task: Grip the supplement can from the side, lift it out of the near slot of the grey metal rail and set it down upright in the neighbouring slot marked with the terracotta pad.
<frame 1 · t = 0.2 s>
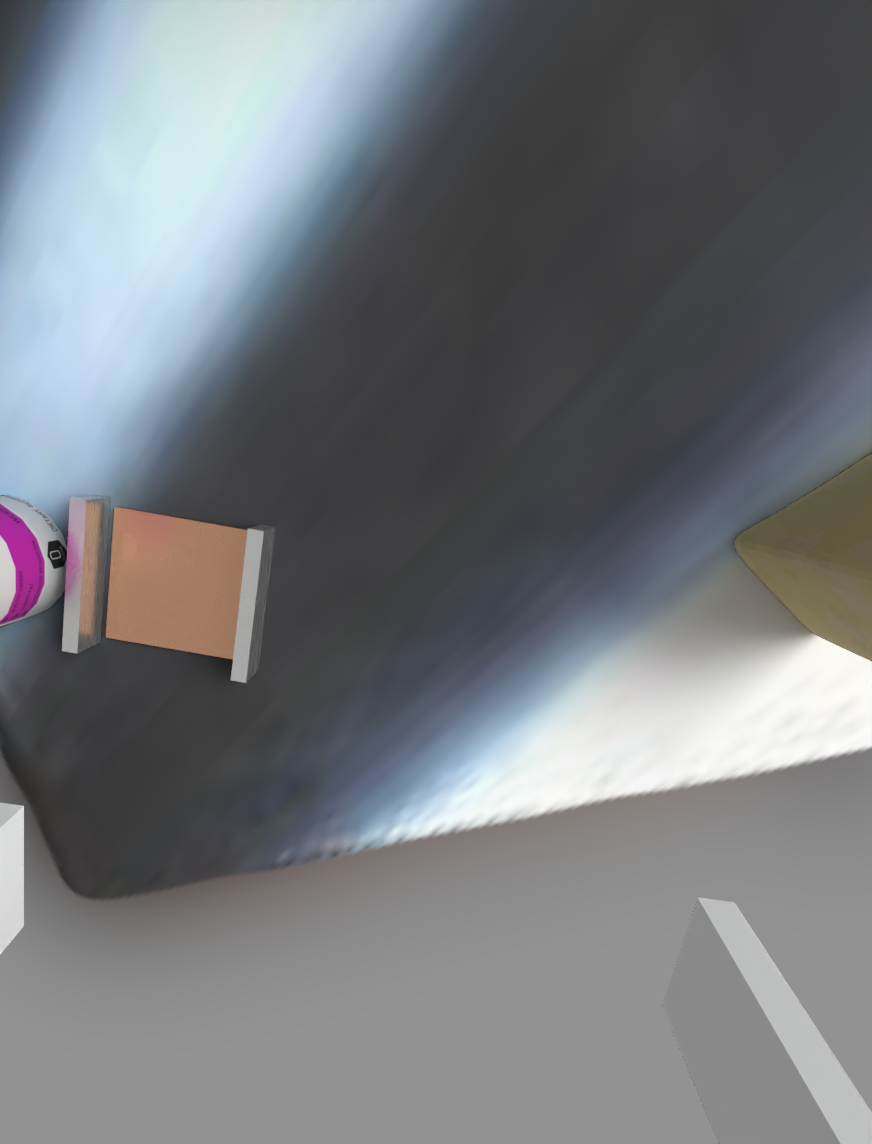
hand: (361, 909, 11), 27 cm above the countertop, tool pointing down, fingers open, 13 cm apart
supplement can: (19, 555, 38), on the countertop
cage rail: (97, 570, 38), on the countertop
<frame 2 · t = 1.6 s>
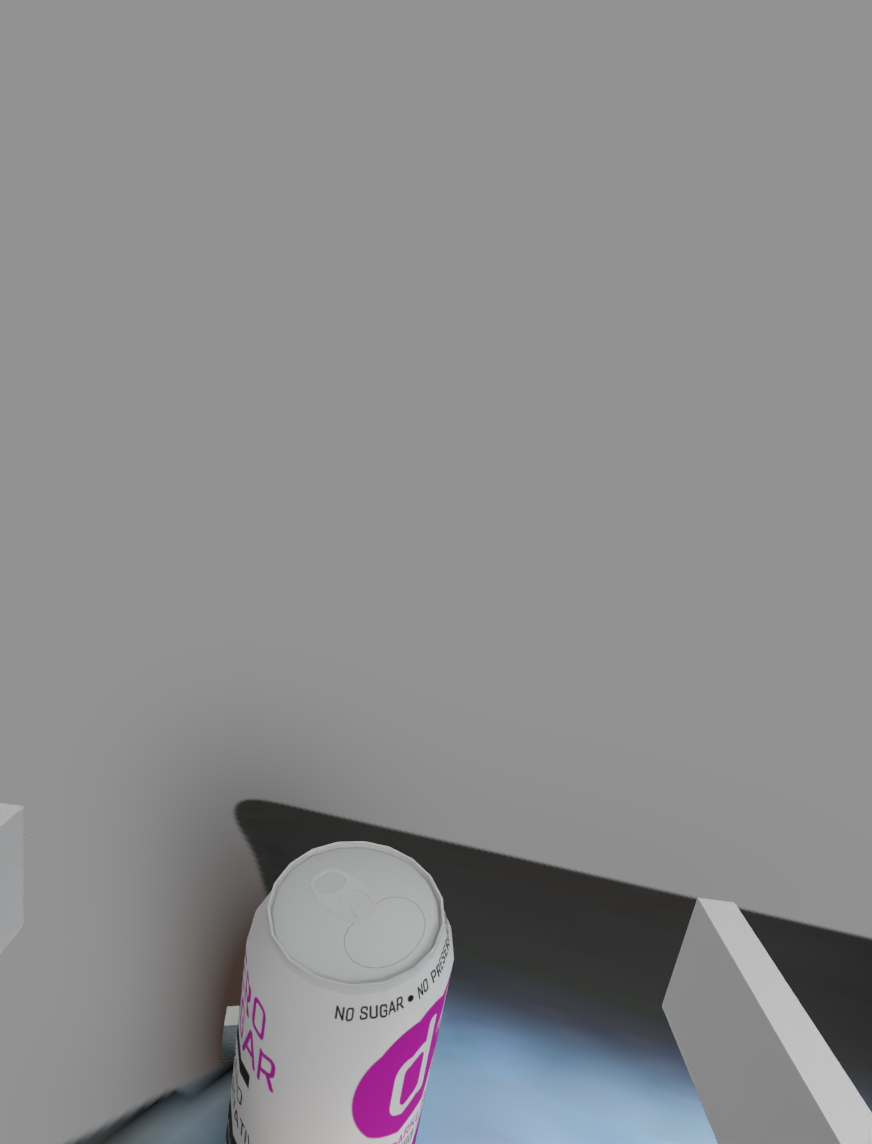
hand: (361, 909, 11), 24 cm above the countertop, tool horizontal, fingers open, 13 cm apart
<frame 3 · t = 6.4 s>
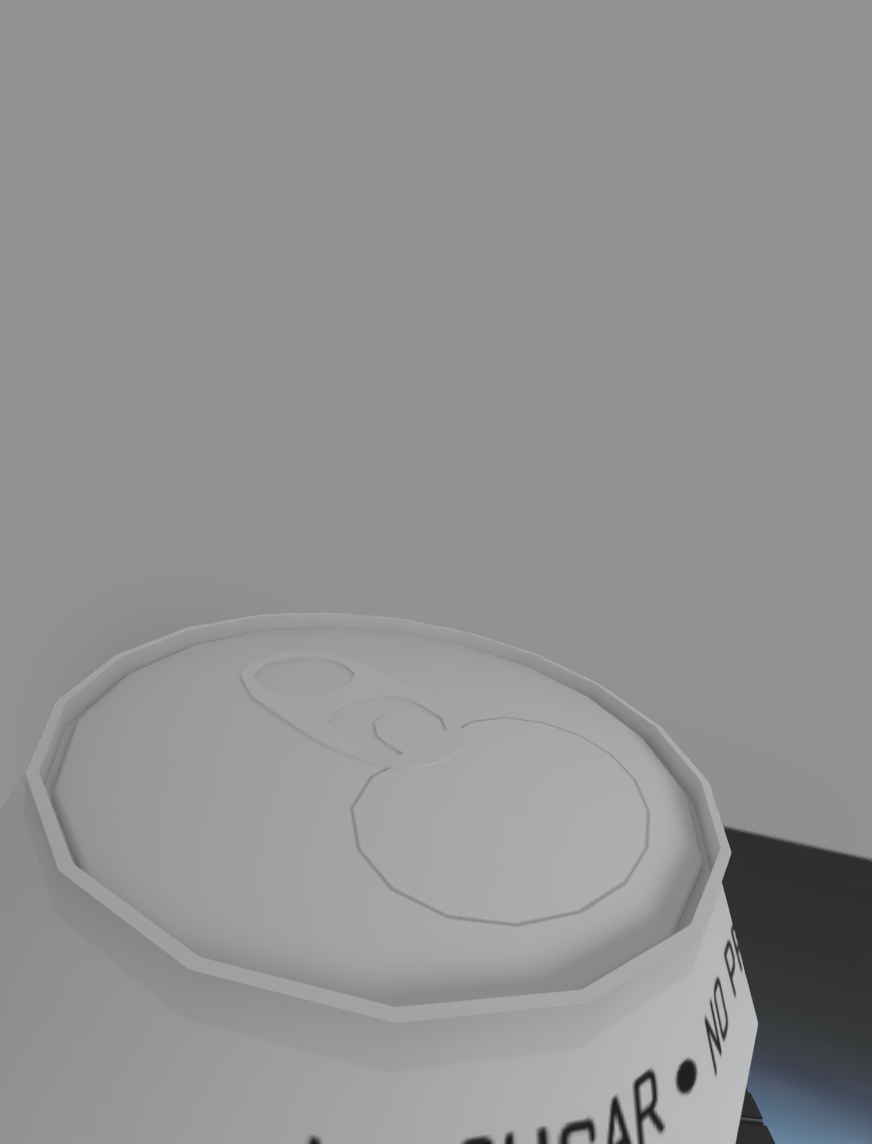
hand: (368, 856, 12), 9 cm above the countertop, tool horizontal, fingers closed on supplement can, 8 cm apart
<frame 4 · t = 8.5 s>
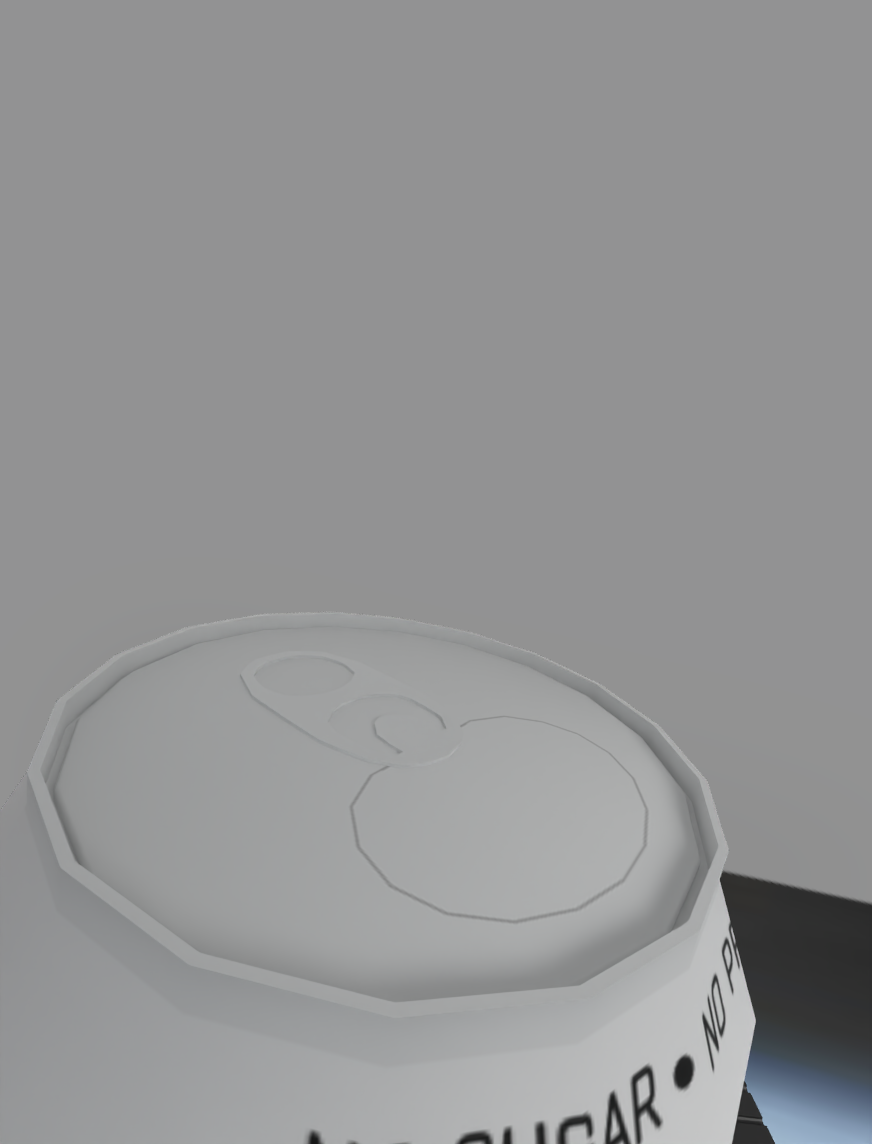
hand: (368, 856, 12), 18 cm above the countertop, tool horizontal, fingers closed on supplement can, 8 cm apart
when the fingers open (10 cm above the countertop, at t = 10.9 s): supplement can drops 1 cm, resting on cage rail.
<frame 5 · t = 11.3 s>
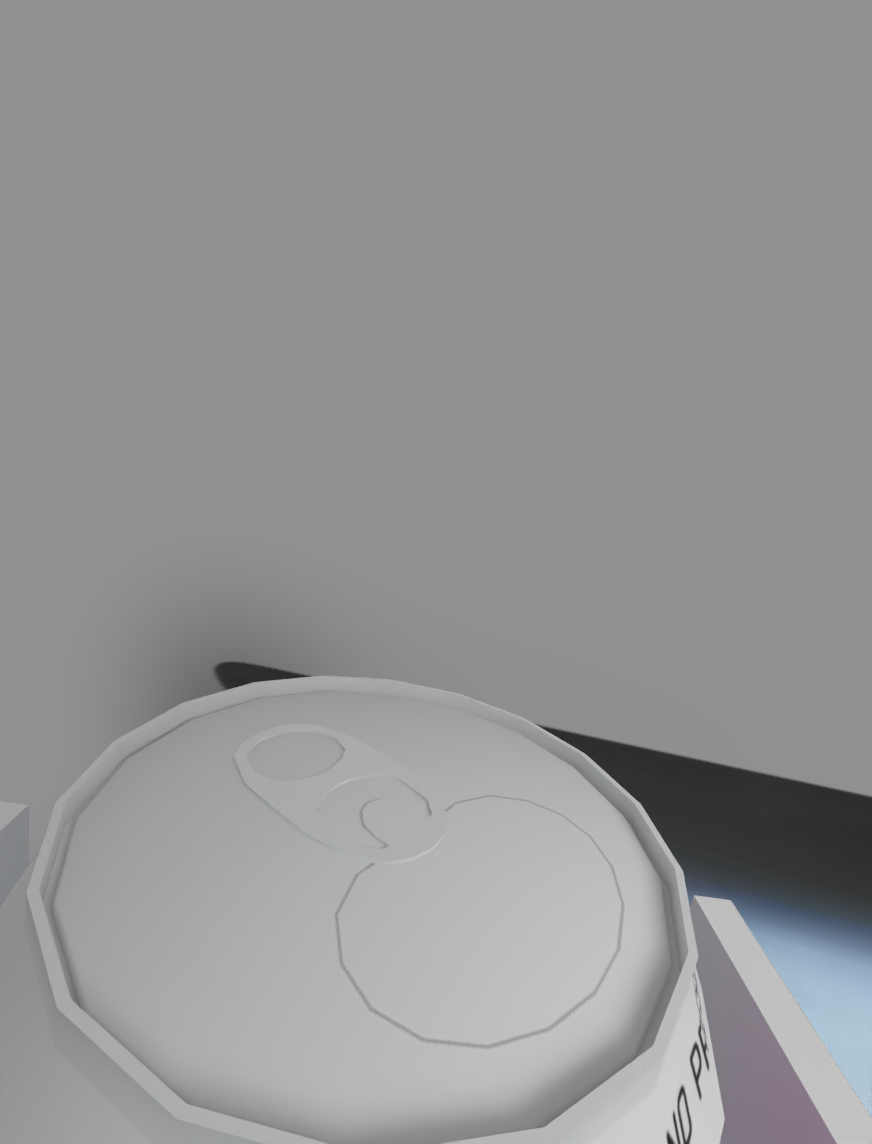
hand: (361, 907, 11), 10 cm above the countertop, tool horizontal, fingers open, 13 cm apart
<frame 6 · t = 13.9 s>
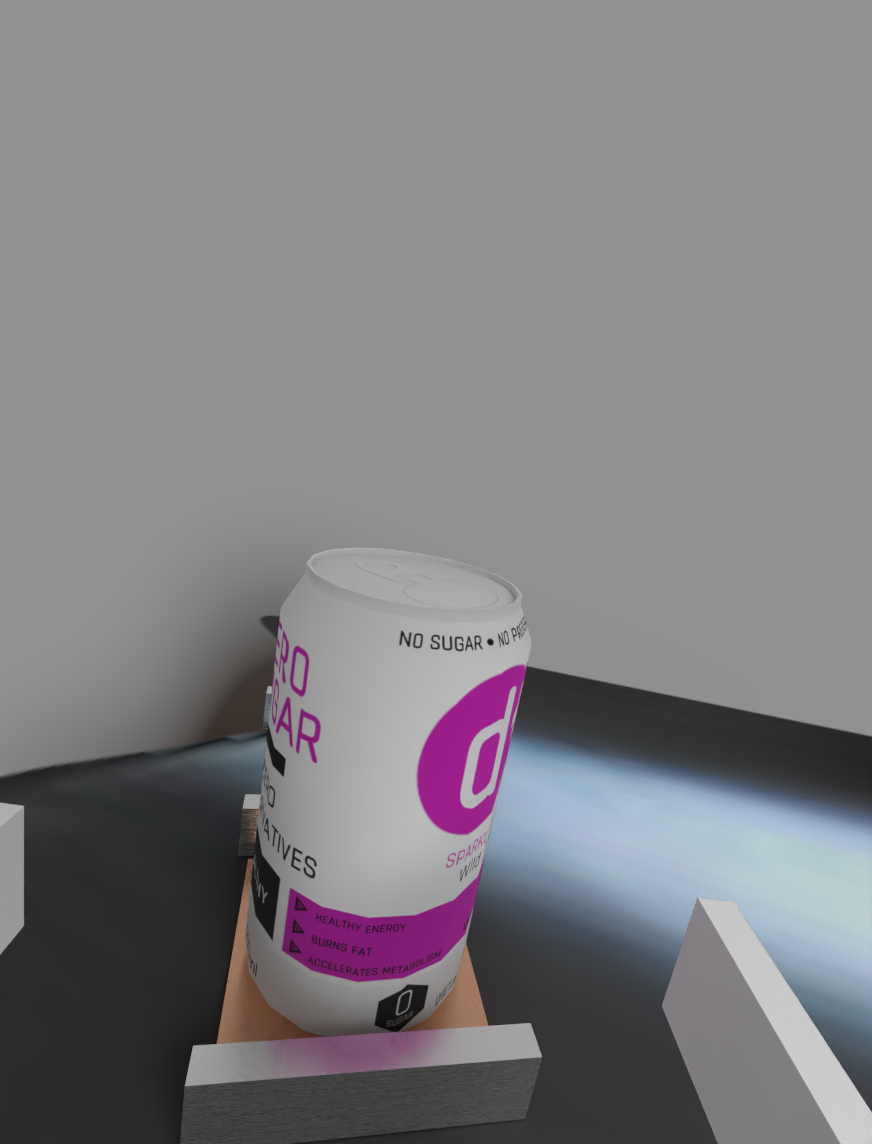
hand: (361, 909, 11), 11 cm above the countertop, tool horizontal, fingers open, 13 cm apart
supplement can: (354, 949, 22), resting on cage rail
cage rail: (347, 848, 27), on the countertop
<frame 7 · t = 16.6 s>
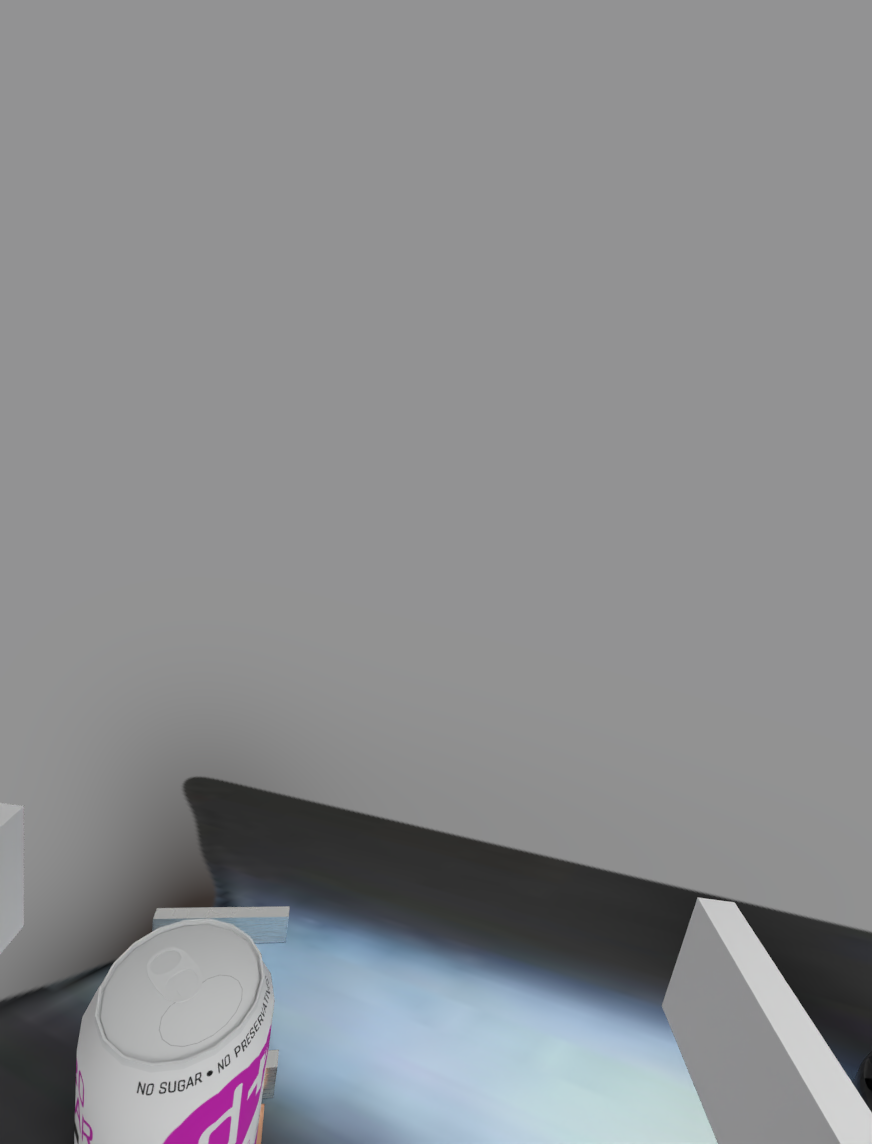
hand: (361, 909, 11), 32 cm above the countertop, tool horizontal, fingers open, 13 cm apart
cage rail: (189, 1095, 35), on the countertop
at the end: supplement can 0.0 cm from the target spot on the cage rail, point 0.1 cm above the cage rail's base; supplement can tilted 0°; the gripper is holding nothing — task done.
